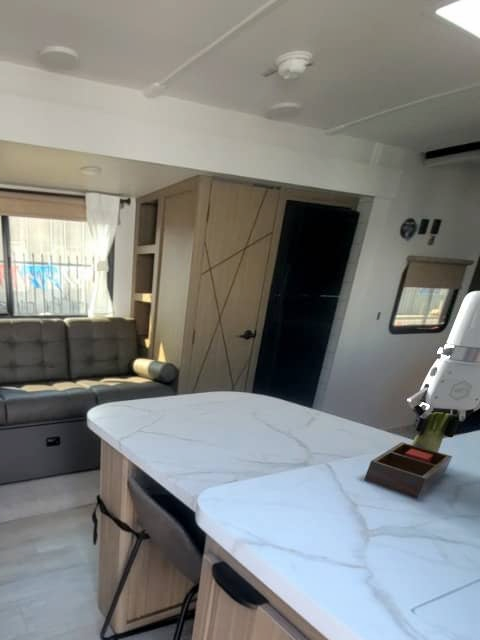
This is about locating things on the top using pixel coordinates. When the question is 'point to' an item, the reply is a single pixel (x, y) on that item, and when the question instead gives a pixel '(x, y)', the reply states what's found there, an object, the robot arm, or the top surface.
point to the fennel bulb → (433, 432)
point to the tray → (407, 470)
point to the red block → (419, 455)
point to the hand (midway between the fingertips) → (431, 433)
